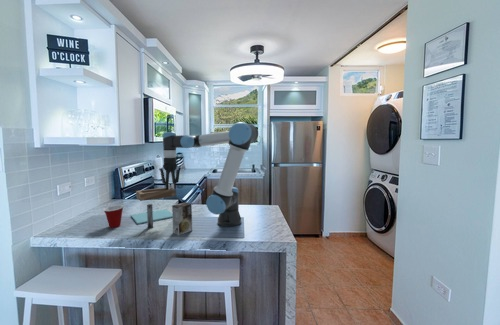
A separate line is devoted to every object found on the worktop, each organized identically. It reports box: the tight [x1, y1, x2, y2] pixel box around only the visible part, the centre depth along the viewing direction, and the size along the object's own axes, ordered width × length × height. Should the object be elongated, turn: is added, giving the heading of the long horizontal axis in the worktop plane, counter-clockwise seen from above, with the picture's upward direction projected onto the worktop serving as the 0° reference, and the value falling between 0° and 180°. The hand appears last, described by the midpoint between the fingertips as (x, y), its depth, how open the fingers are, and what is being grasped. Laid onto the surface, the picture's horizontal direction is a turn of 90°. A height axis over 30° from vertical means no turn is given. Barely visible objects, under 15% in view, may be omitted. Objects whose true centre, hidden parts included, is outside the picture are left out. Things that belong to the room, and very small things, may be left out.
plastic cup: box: [102, 204, 124, 229], centre depth 144 cm, size 11×11×12 cm
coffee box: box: [171, 201, 193, 236], centre depth 135 cm, size 9×6×16 cm
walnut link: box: [135, 187, 176, 202], centre depth 144 cm, size 10×20×4 cm, turn 128°
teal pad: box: [130, 208, 173, 225], centre depth 163 cm, size 20×24×1 cm
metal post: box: [146, 203, 154, 229], centre depth 142 cm, size 3×3×14 cm
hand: (170, 194), depth 149 cm, fingers closed on walnut link, 2 cm apart
